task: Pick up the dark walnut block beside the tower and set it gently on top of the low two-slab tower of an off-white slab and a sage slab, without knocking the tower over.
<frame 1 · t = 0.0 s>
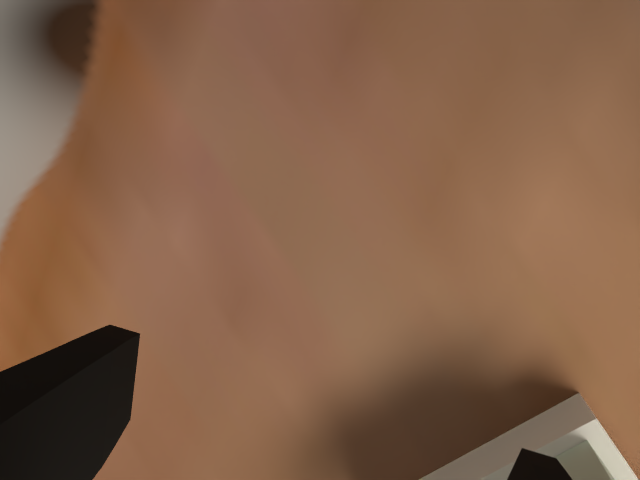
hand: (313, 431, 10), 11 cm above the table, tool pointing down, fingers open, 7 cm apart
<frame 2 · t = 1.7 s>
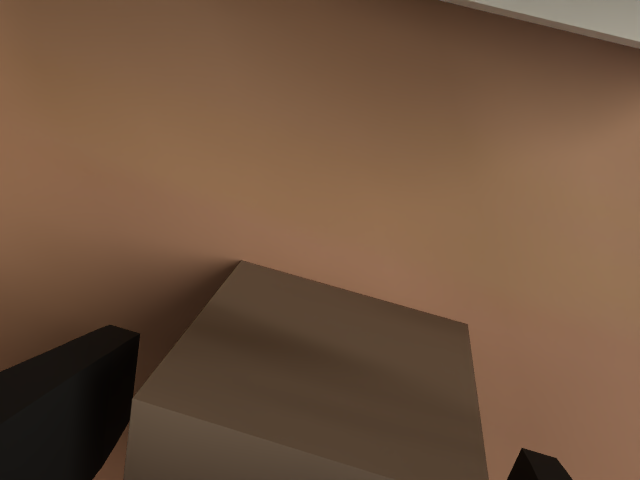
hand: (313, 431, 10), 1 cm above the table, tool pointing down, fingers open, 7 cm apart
walnut block: (327, 383, 12), on the table
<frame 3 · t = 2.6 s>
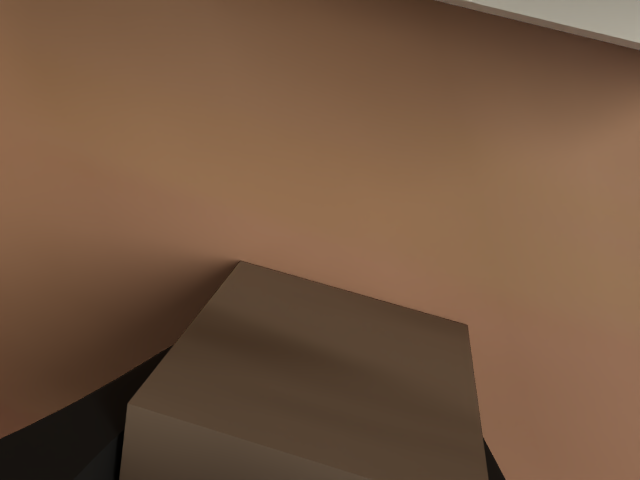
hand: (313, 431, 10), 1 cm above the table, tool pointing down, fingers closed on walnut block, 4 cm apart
walnut block: (326, 386, 12), on the table, touching gripper
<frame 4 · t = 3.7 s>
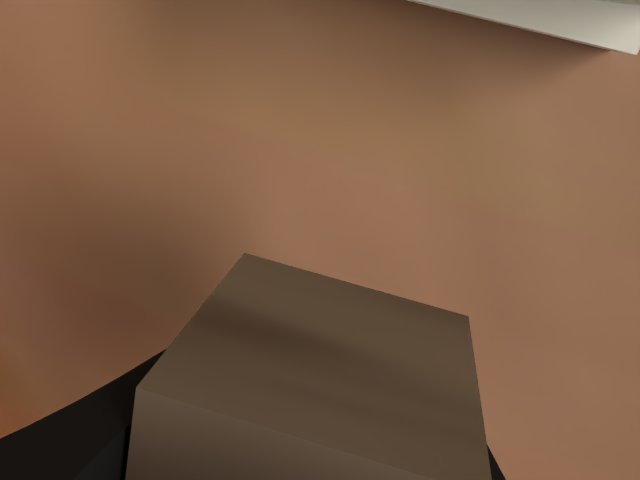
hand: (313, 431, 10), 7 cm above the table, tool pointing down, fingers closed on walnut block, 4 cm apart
walnut block: (328, 377, 12), point 5 cm above the table, touching gripper
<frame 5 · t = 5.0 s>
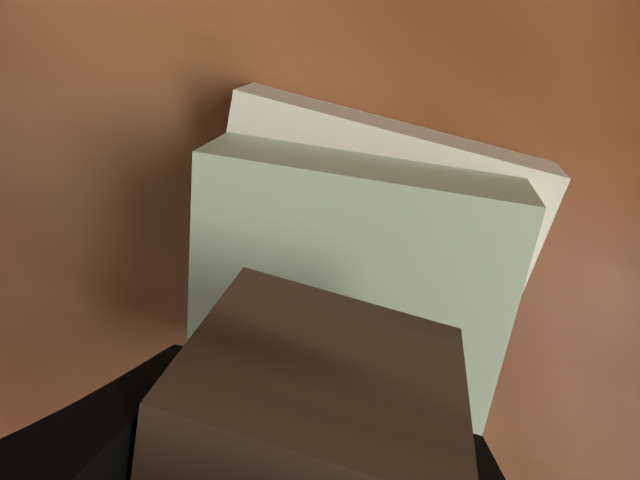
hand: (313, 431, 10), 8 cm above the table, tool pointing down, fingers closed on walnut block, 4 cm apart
tower base slab: (363, 251, 19), on the table
tower top slab: (351, 288, 16), point 2 cm above the table
walnut block: (325, 387, 12), point 7 cm above the table, touching gripper
when the fingers open (8 cm above the table, at t = 6.3 s): walnut block drops 1 cm, resting on tower top slab.
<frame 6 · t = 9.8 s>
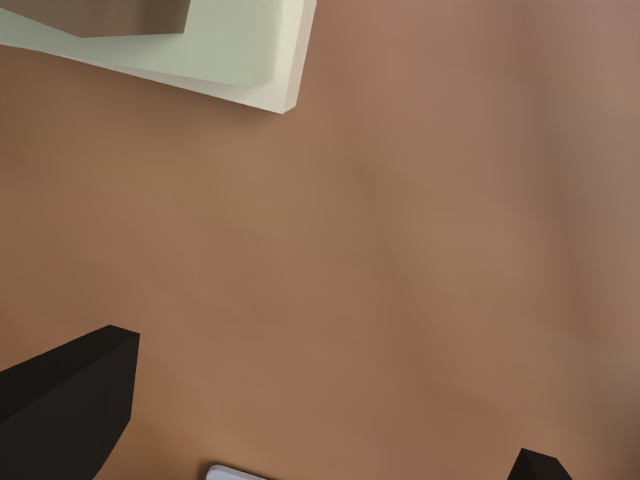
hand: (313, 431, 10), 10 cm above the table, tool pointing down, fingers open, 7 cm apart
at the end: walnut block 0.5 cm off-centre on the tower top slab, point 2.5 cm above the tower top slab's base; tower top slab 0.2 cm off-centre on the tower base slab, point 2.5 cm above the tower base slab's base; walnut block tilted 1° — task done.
